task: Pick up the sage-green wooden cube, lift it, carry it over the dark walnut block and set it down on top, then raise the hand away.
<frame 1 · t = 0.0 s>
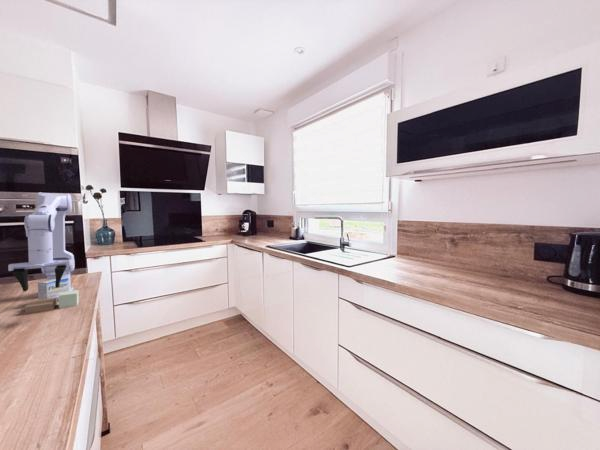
hand: (42, 288, 84), 10 cm above the counter, tool pointing down, fingers open, 7 cm apart
walnut block: (41, 309, 91), on the counter
sage cube: (69, 305, 95), on the counter
medicine box: (54, 301, 99), on the counter
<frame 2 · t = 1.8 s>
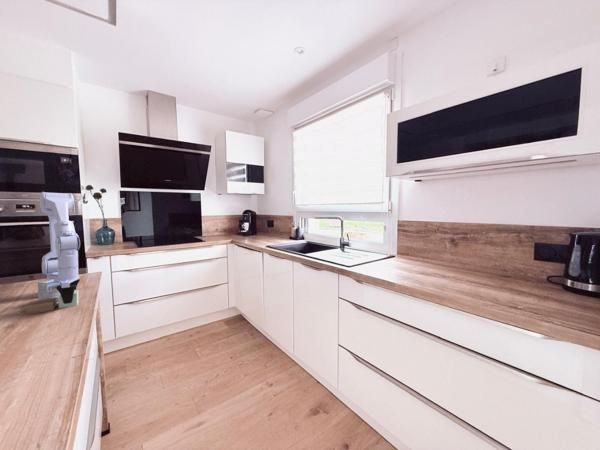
hand: (69, 300, 95), 2 cm above the counter, tool pointing down, fingers closed on sage cube, 5 cm apart
sage cube: (69, 304, 95), on the counter, touching gripper
everything else where it was.
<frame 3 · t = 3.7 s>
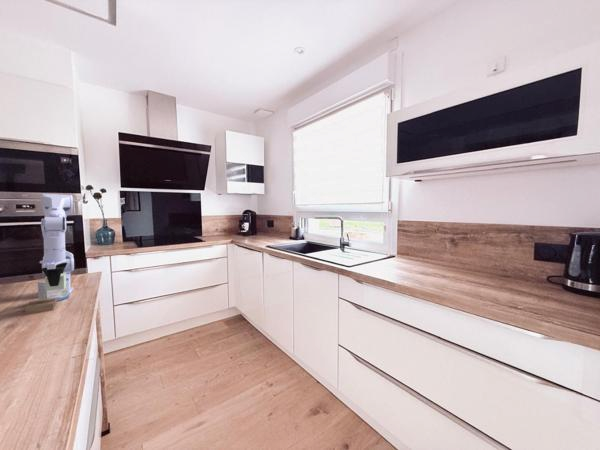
hand: (55, 283, 93), 9 cm above the counter, tool pointing down, fingers closed on sage cube, 5 cm apart
sage cube: (56, 288, 93), point 7 cm above the counter, touching gripper
everything else where it was.
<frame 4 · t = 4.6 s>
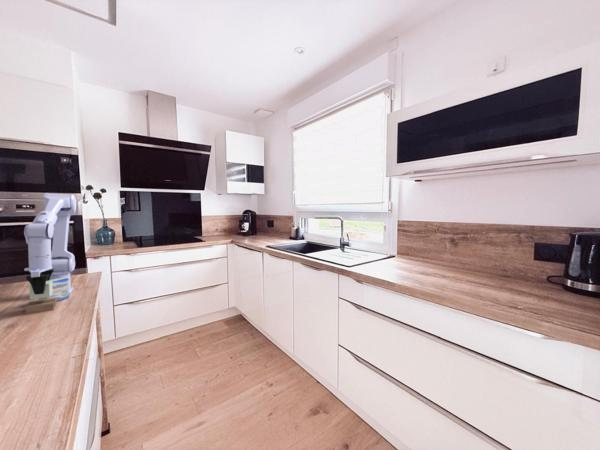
hand: (41, 291, 90), 7 cm above the counter, tool pointing down, fingers closed on sage cube, 5 cm apart
sage cube: (41, 296, 90), point 5 cm above the counter, touching gripper
everything else where it was.
when the fingers open (6 cm above the counter, at t = 5.3 s): sage cube drops 1 cm, resting on walnut block.
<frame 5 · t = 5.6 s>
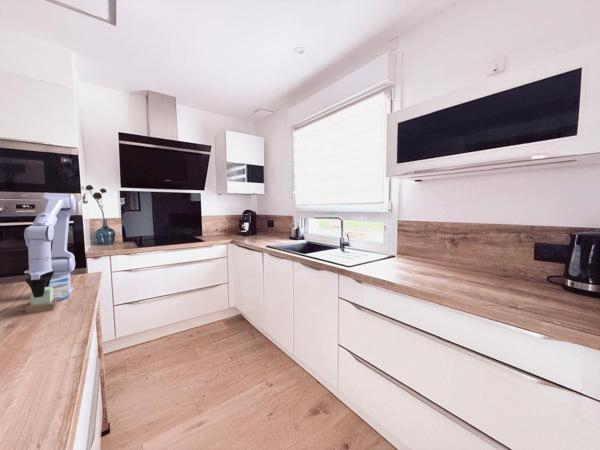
hand: (41, 294, 90), 6 cm above the counter, tool pointing down, fingers open, 6 cm apart
walnut block: (41, 310, 91), on the counter, touching sage cube
sage cube: (42, 302, 91), point 3 cm above the counter, touching walnut block
medicine box: (54, 301, 99), on the counter, touching gripper
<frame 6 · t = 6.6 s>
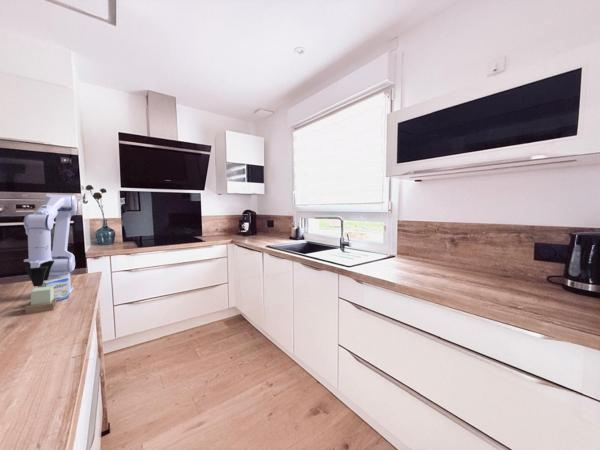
hand: (41, 283, 90), 10 cm above the counter, tool pointing down, fingers open, 7 cm apart
walnut block: (41, 310, 91), on the counter
sage cube: (42, 301, 91), point 3 cm above the counter
medicine box: (54, 301, 99), on the counter
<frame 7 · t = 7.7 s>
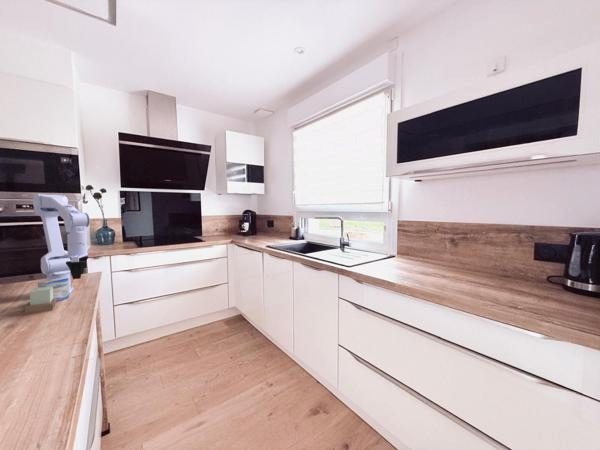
hand: (78, 276, 98), 10 cm above the counter, tool pointing down, fingers open, 7 cm apart
walnut block: (41, 310, 91), on the counter, touching sage cube
sage cube: (42, 302, 91), point 3 cm above the counter, touching walnut block
everything else where it was.
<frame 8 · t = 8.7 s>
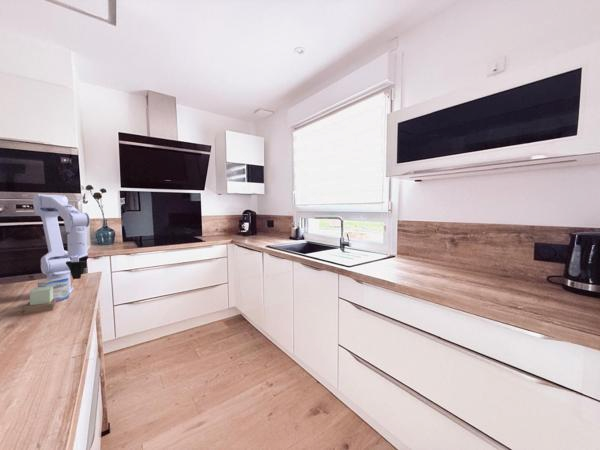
hand: (78, 276, 98), 10 cm above the counter, tool pointing down, fingers open, 7 cm apart
walnut block: (40, 310, 91), on the counter
sage cube: (42, 301, 91), point 3 cm above the counter
everything else where it was.
at the end: sage cube 0.3 cm off-centre on the walnut block, point 3.0 cm above the walnut block's base; sage cube tilted 1°; the gripper is holding nothing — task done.
